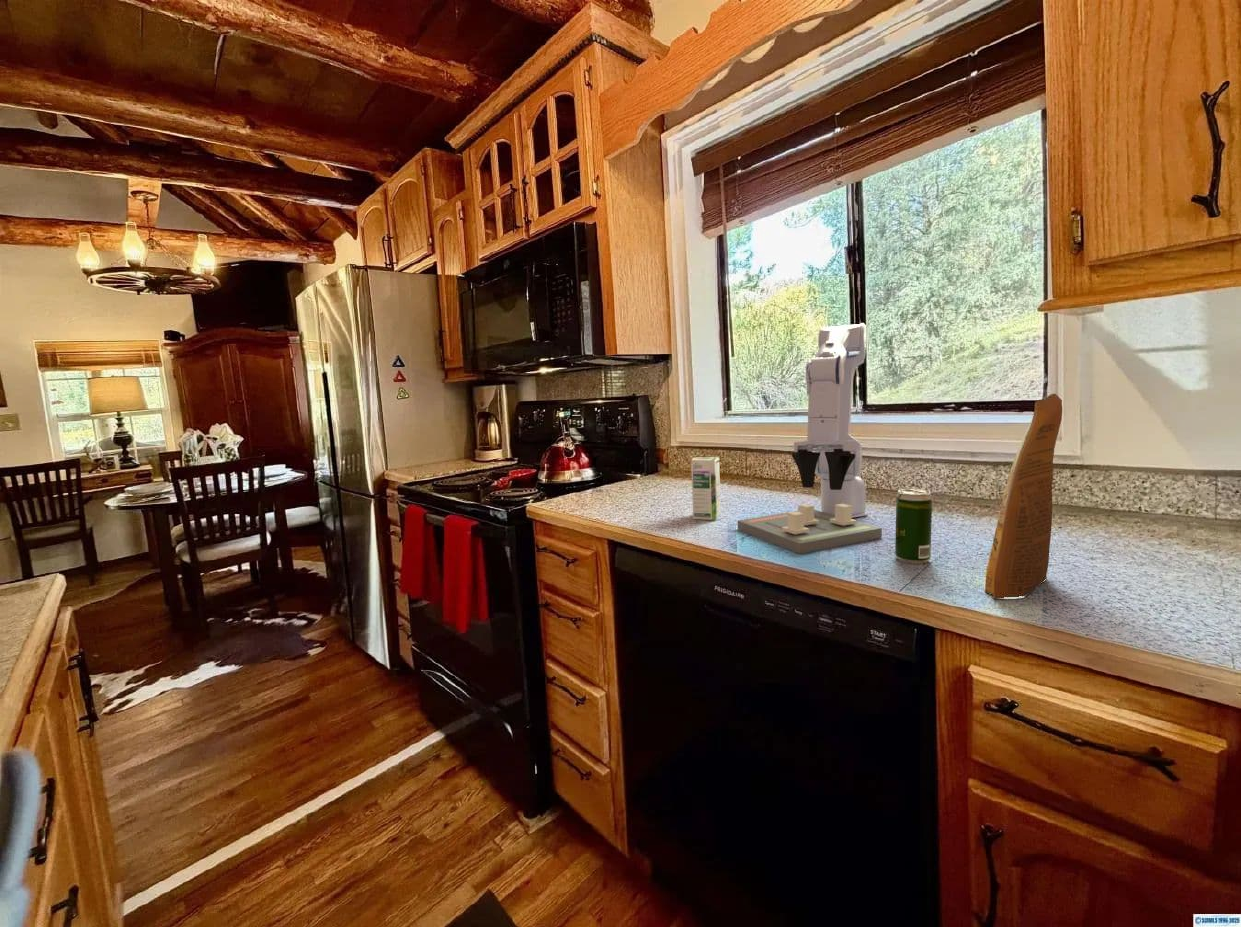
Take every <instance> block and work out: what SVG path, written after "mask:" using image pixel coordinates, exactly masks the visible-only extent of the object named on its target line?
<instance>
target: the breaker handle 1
mask: <svg viewBox="0 0 1241 927" xmlns="http://www.w3.org/2000/svg"><path fill="white" fill-rule="evenodd" d="M796 511H797V510H796ZM796 511H795V510H793V511H788V513H787V512H786V513H787V527H782V530H783V531H786V532H789V533H792V534H800V533H805V532H809V529H808V528H805V527H804V514H803V513H800V512H796Z"/></svg>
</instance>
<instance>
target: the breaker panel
mask: <svg viewBox="0 0 1241 927" xmlns="http://www.w3.org/2000/svg"><path fill="white" fill-rule="evenodd" d="M788 512H789V511H788ZM788 512H784V513H783V512H782V513H776V514H775V513H774V514H770V515H764V516H758V517H757V516H756V517H752V518H751V517H750V518H745V519H738V520H737V530H739V531H741V532H743V533H746V534H748V535H751V536H752V537H753V536H754V537H756V538H759V539H761V540H764V541H765V542H766V541H767V542H768V543H772V544H774V545H777V546H778V547H782V548H784V549H786V550H789V551H792V552H794V553H797V554H800V555H802V554H806V553H811V552H812V553H813V552H816V551H823V550H826V549H827V550H828V549H832V548H836V547H843V546H847V545H848V546H849V545H853V544H857V543H862V542H866V541H867V542H868V541H872V540H876V539H877V538H878V539H882V538H883V537H882V536H883V535H882V534H883V533H882V532H883V531H882V530H883V527H880V526H877V525H876V526H875V525H872V524H869V523H864V522H860V521H857V523H855V524H850V525H844V526H842V525H839V524H835V523H832V522H830V519H833V518H835V515H832V514H829V513H825V512H821V511H820V510H818V509H814V519H817V520H819V523H817V524H811V525H804V527H805V528H808V529H809V532H805V533H800V534H792V533H789V532H786V531H783V530H782V527H787V513H788ZM796 512H798V510H796ZM881 537H882V538H881Z"/></svg>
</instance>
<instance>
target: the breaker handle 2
mask: <svg viewBox="0 0 1241 927" xmlns="http://www.w3.org/2000/svg"><path fill="white" fill-rule="evenodd" d="M851 514H852V506H850V505H846V504H838V505H835V518H833V519H830V522H832V523H835V524H839V525H842V526H844V525H850V524H855V523H857V520H858V519H857V520H856V519H853V518H851Z"/></svg>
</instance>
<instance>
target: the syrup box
mask: <svg viewBox="0 0 1241 927" xmlns="http://www.w3.org/2000/svg"><path fill="white" fill-rule="evenodd" d="M690 465H691V471H690V472H691V489H692V490H691V494H692V519H693V520H704V521H716V520H718V518H719V517H720V516H721V481H720V480H721V478H720V475H721V474H720V471H721V470H720V456H719V457H718V456H714V457H713V456H711V457H709V456H708V457H707V456H706V457H705V456H704V457H703V456H701V457H700V456H696V457H693V458H692V459H691V462H690Z"/></svg>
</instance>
